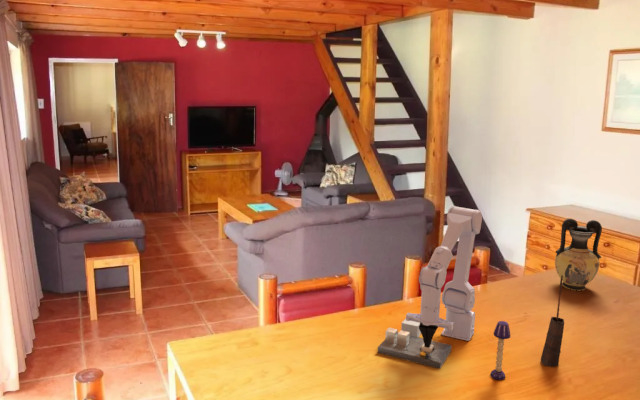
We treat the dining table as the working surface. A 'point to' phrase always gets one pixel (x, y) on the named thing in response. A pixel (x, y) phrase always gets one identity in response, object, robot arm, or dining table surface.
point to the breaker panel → (413, 348)
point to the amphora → (578, 254)
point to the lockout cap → (411, 328)
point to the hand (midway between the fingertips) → (427, 346)
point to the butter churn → (553, 338)
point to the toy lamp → (500, 348)
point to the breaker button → (427, 348)
